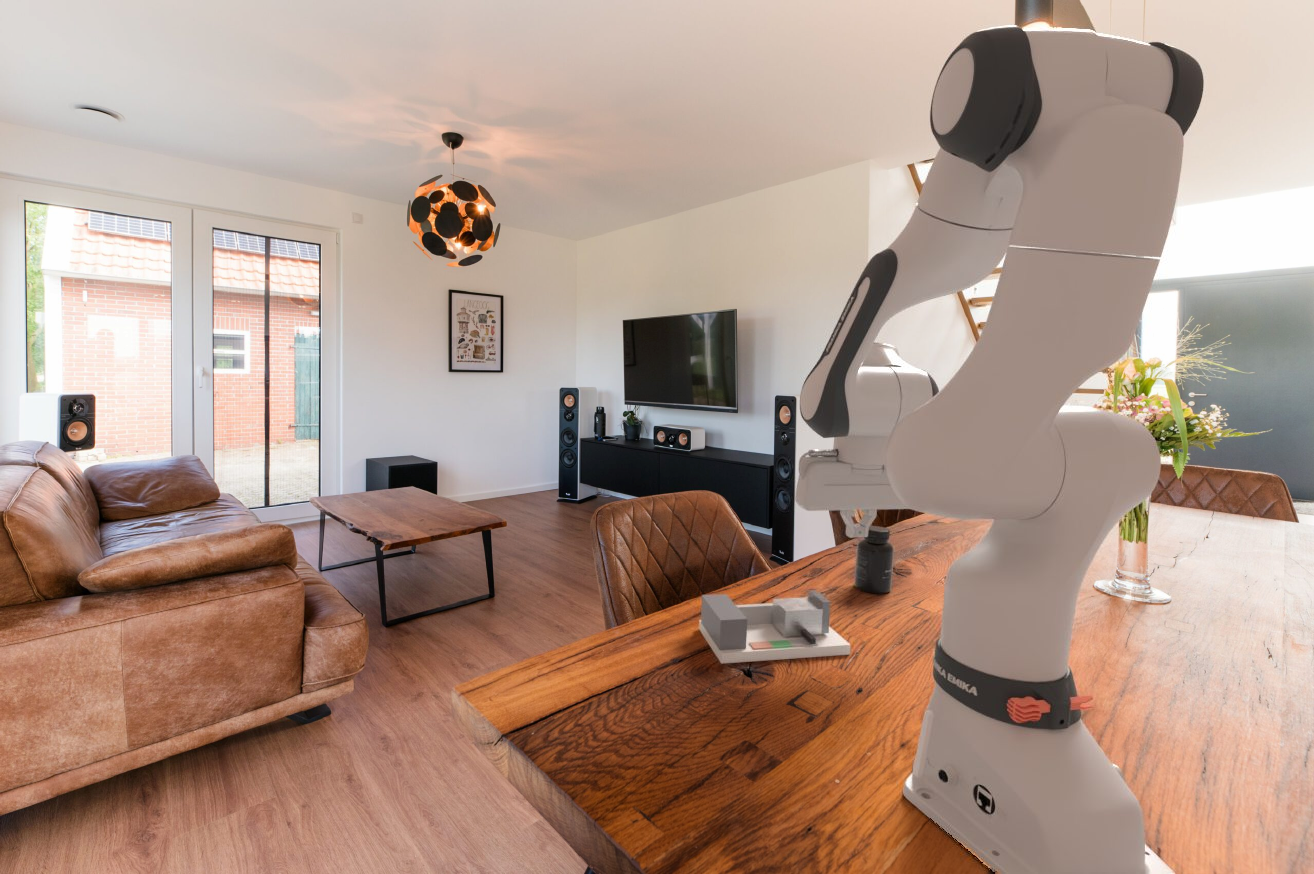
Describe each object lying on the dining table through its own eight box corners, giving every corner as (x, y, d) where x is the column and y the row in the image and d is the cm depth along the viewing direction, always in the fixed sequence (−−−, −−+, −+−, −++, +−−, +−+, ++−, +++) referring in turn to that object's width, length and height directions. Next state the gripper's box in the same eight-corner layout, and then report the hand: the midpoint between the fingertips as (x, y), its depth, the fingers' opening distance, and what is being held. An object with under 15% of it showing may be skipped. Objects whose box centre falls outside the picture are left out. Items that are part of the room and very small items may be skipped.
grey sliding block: (839, 643, 92) (841, 610, 91) (794, 646, 90) (795, 612, 90) (814, 620, 100) (815, 590, 100) (772, 623, 99) (773, 592, 98)
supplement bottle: (893, 596, 118) (898, 534, 116) (856, 592, 119) (860, 531, 118) (888, 584, 124) (892, 525, 123) (852, 581, 126) (856, 523, 124)
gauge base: (850, 654, 92) (852, 615, 92) (721, 663, 88) (722, 622, 88) (814, 622, 104) (816, 587, 103) (699, 628, 100) (700, 592, 99)
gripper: (809, 452, 91) (803, 544, 92) (933, 452, 95) (926, 540, 97) (791, 446, 97) (786, 532, 99) (909, 446, 101) (902, 529, 103)
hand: (856, 536), depth 98 cm, fingers closed
